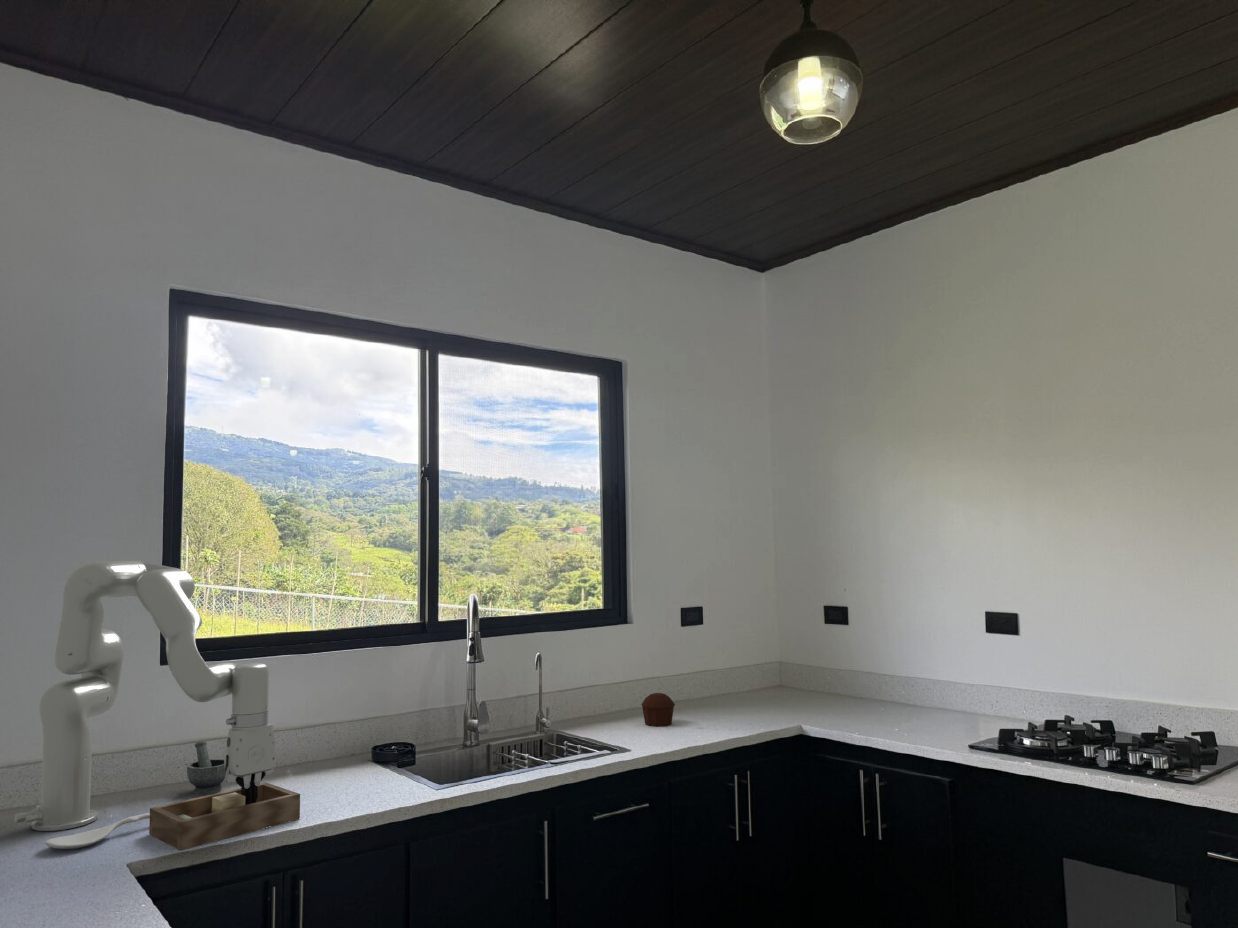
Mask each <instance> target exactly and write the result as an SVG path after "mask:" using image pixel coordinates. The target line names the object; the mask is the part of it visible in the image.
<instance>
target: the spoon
mask: <svg viewBox="0 0 1238 928" xmlns="http://www.w3.org/2000/svg"><path fill="white" fill-rule="evenodd" d="M146 819H150V812H147V813H142V814H138V815H132V816H129V817H126V818H123V819H120V820H118V821H116V822H114V823H111V824H109V825H108V824H107V825H106V826H103V827H100V828H95V829H93V830H87V831H82V832H78V833H75V834H69V835H64V836H59V837H53V838H50V839H46V840H45V841H44V842H45V843H44V844H45V846H46V847H48V848H53V849H61V850H62V849H63V850H75V849H76V850H77V849H82V848H86V847H88V846H91V845H93V844H96V843H98V842H100V841H101V840H103V839H105V838H106V837H107V836H108V835H110V834H111V833H112V832H113V831H114V830H116V829H117V828H119V827H121V826H123V825H127V824H130V823H136V822H138V821H141V820H146Z"/></svg>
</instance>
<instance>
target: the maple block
mask: <svg viewBox="0 0 1238 928" xmlns="http://www.w3.org/2000/svg"><path fill="white" fill-rule="evenodd" d="M244 805H245V796H243V795H241V794H238V793H236V792H234V793H230V794H225V795H221V796H216V797H212V813H214V812H218V811H223V810H227V809H231V808H235V807H239V806H244Z"/></svg>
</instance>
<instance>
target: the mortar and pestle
mask: <svg viewBox="0 0 1238 928" xmlns="http://www.w3.org/2000/svg"><path fill="white" fill-rule="evenodd" d="M207 745H208V742H207V741H206V740H200V741H196V743H194V747H195V749H196V755H197V756H196V757H197V761H195V762H191V763H189V764H188V765H187V767H186V772H187V773H186V774H187V775H186V776H187V779H188V780H189V781H188V782H190V784H191V785H192V786H194V787H195V788H194V793H195V794H194V795H197V796H199V795H200V796H207V795H211V794H216V793H220V792H221V791H222V790H221V789H222V783H223V782H225V775H226V773H225V770H224V759H225V758H212V759H211V758H210V755H209V751H208V747H207Z"/></svg>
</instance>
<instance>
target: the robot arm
mask: <svg viewBox="0 0 1238 928" xmlns="http://www.w3.org/2000/svg"><path fill="white" fill-rule="evenodd" d="M195 589H196V587H195V580H194V579H193V577H192V576H191V575H190V574H189V572H188V571H185V570H184V569H181V568H177V567H173V566H172V567H171V566H167V565H162V564H156V563H152V562H146V561H143V560H132V559H131V560H130V559H129V560H127V559H126V560H99V561H93V562H89V563H87V564H84V565H82V566H80V567H78V568H76V569H75V570H74V571H73V572H72V573H70V575H69V577H67V580H66V581H65V584H64V587H63V594H62V610H61V615H60V616H61V617H60V622H59V627H58V634H57V640H56V646H55V653H54V664H55V667H56V669H57V670H58V672H60V673H61V674H64V675H70V676H71V675H80V677H76V678H71V679H67V680H63V681H60V682H57V683H55V684H53V685H51V686H50V687H49V688H47V689H46V690H45V691H44V693H43V694H42V696H41V698H40V700H39V706H38V708H39V710H38V711H39V715H40V717H39V718H40V721H41V729H42V730H41V731H42V759H41V760H42V761H41V762H42V763H41V764H42V765H41V787H40V792H41V793H40V804H36V806H35V807H36V808H33V809H31V811H27V812H25V811H24V812H20V813H16V814H14V823H15V824H20V823H25V824H27V823H31V829H33V830H34V831H38V832H55V831H64V830H69V829H74V828H79V827H82V826H85V825H88V824H91V823H93V822H94V821H96V820H97V818H98V811H96V810H94V809H91V788H92V787H91V785H92V758H93V757H92V756H93V755H92V753H93V737H92V732H91V729H90V726H89V725H88V724H89V723H88V721H87V719H89V718H93V717H95V716H99V715H101V714H104V713H105V712H108V711H109V710H110V709H111V708H112V707H113V705H114V703H116V699H117V697H118V693H119V688H120V681H121V676H122V668H123V664H124V663H123V662H124V653H125V649H124V644H123V643H124V642H123V641H122V639H121V637H120V636H119V634H117V633H116V632H115V631H113V630H112V629H111V630H110V629H106V628H103V626H104V621H105V609H104V605H103V603H102V600H103V599H110V598H125V597H137V598H138V601H140V603H141V605H142V607H143V608H144V609H145V611H146V612H147V614H148V616H149V617H150V618H151V619H152V621H153V623H154V625H155V626H156V627H157V629H158V630H159V632H160V634H161V635H162V637H163V638H164V640H165V652H166V659H167V666H168V668H169V671H170V672H171V675H172V677H173V678H174V679H175V681H176V683H177V684H178V686H179V688H180V689H181V691H183V692H184V693H185V695H186V696H187V697H188V698H189V699H191V700H192V701H195V702H198V703H207V702H210V701H213V700H217V699H221V698H223V697H227V696H232V697H231V714H230V717H229V718H226V719H225V724H226V725H227V726H230V727H231V728H228V732H227V737H226V741H225V748H224V749H225V750H224V758H223V759H224V770H225V773H226V775H225V780H224V782H227V783H235V784H237V785H238V786H239V788H241V795H243V796H245V805H248V804H252V803H256V800H257V798H258V786H259V785H260V784H261V783H262V781H263V779H264V778H265V777H266V776H268V775H270V774H272V773H274V770H275V767H276V765H277V750H276V749H277V748H276V747H277V746H276V739H275V738H276V737H275V732H274V728H273V727H274V726H273V724H272V723H269V677H270V676H269V666H267V665H266V664H264V663H258V662H257V663H255V662H254V663H252V662H251V663H244V664H243V663H235V662H224V661H223V662H220V663H214V664H210V665H208V664H207V663H206V661H205V659H204V658H203V657H202V656H201V654H200V651H199V650H198V647H197V644H196V636H197V633H198V631H199V629H200V627H201V626H202V624H203V617H201V615H200V614H199V612H198V610H197V609H196V608H195V607H194V605H193V603H192V602H191V600H190V599H191V598H192V596H193V595H194V593H195Z"/></svg>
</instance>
